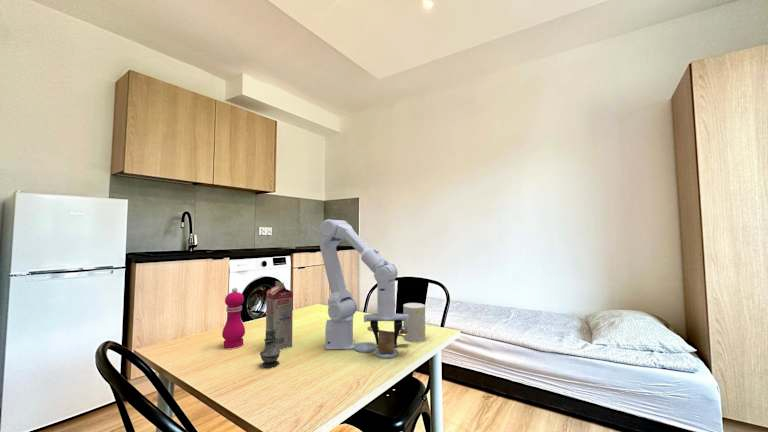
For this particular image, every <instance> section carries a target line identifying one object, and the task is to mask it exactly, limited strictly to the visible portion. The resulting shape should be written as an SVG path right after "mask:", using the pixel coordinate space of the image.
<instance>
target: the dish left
mask: <svg viewBox="0 0 768 432" xmlns="http://www.w3.org/2000/svg"><path fill="white" fill-rule="evenodd" d="M376 349H377V345H376V343H374V342H370V341H363V342H357V343H354V347H353V350H354V351H355V352H358V353H363V354H366V353H372V352H375V350H376Z"/></svg>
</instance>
